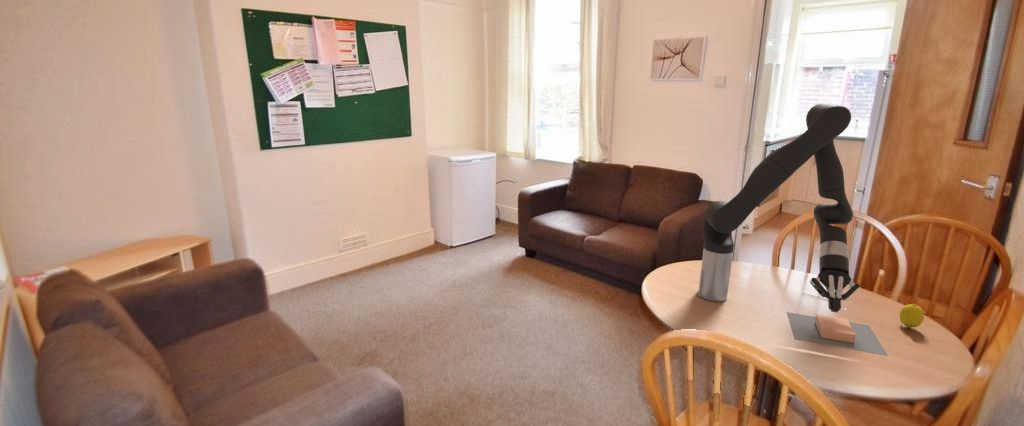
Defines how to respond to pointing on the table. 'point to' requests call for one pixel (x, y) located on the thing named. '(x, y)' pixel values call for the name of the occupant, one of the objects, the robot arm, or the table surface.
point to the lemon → (911, 315)
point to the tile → (835, 328)
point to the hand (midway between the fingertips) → (834, 311)
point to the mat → (808, 332)
